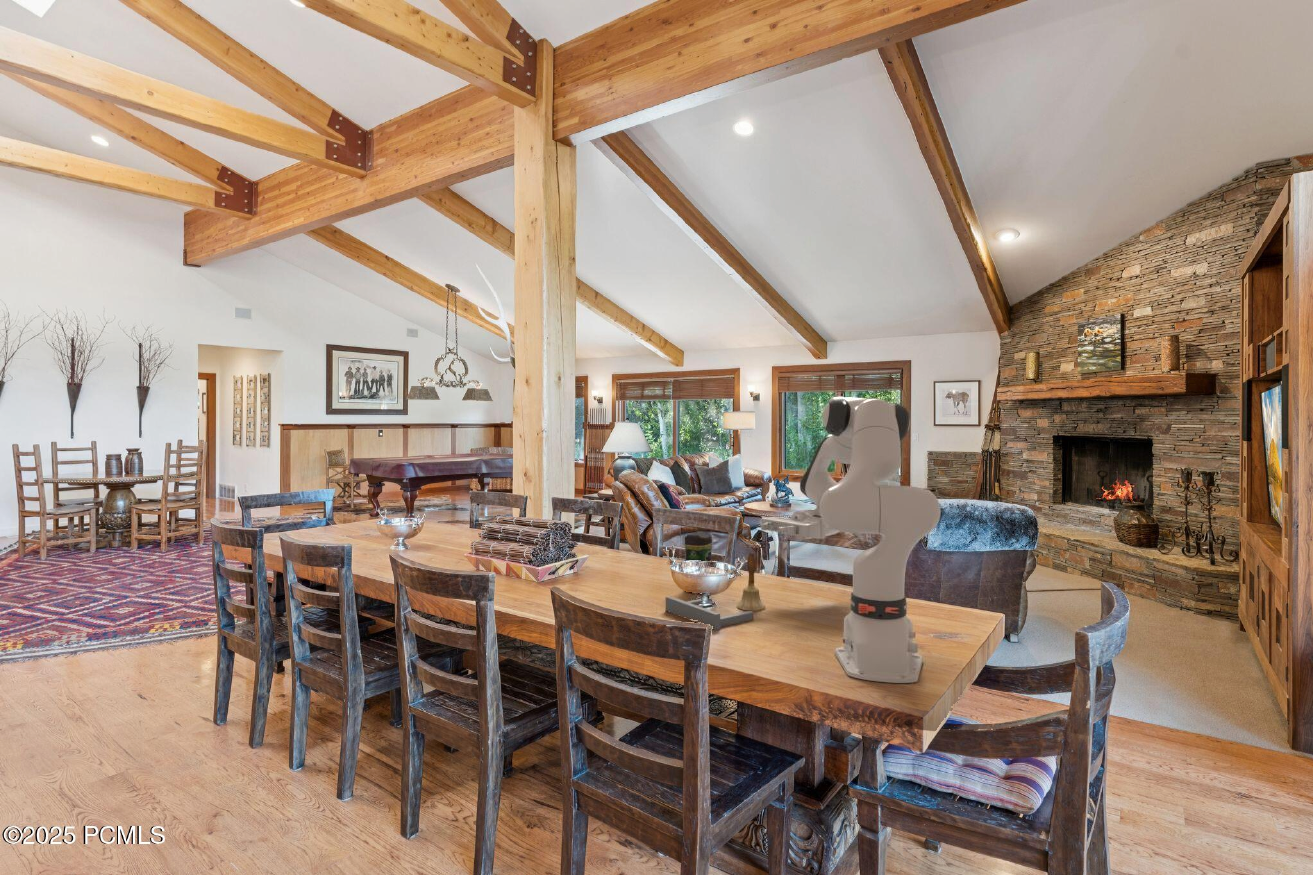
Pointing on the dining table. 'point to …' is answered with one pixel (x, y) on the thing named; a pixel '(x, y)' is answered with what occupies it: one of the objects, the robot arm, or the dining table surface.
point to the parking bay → (704, 613)
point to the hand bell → (751, 590)
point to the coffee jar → (698, 546)
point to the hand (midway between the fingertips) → (771, 528)
